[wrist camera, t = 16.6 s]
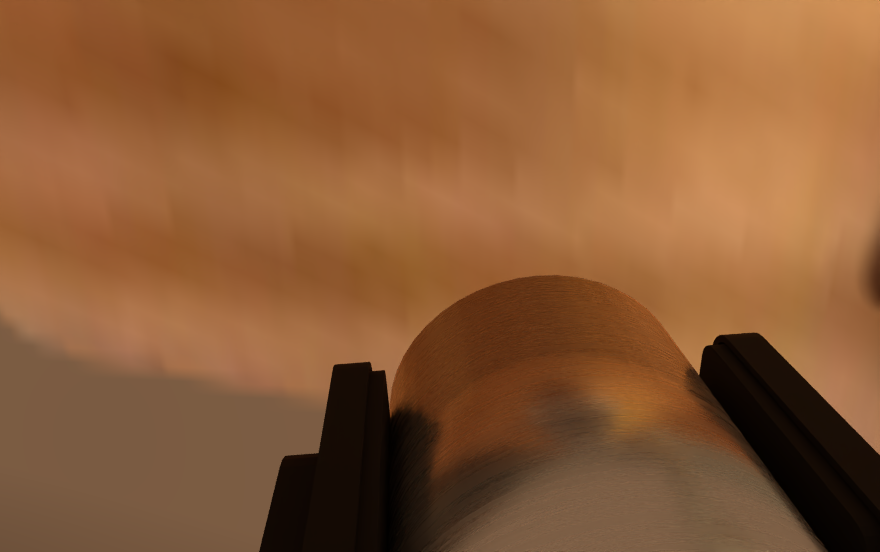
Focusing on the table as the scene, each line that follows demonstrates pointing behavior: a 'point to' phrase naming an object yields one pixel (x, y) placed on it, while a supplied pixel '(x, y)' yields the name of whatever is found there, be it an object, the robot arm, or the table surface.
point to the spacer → (570, 435)
